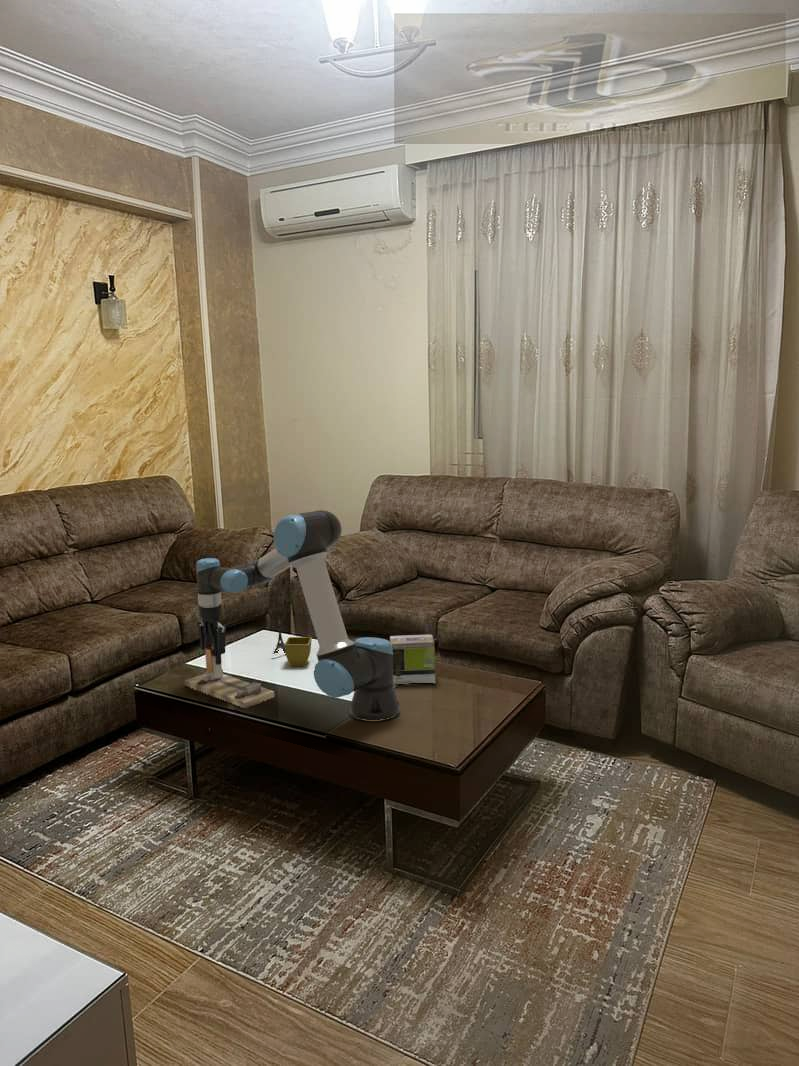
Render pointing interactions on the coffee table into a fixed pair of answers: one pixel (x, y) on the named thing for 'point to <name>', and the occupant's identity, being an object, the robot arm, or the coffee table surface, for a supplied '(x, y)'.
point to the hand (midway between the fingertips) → (214, 671)
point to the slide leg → (210, 667)
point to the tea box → (413, 659)
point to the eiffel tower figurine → (279, 645)
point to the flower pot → (298, 650)
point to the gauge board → (232, 690)
